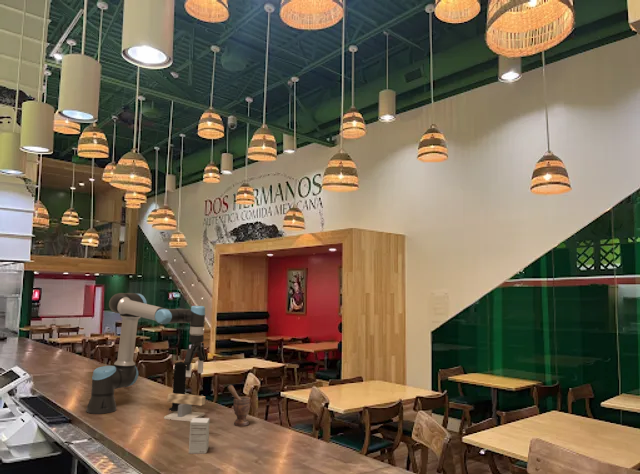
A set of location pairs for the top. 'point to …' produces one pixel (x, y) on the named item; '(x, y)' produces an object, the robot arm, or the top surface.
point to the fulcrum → (184, 413)
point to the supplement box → (199, 435)
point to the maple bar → (186, 399)
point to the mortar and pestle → (240, 407)
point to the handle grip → (179, 382)
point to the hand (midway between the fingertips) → (194, 374)
